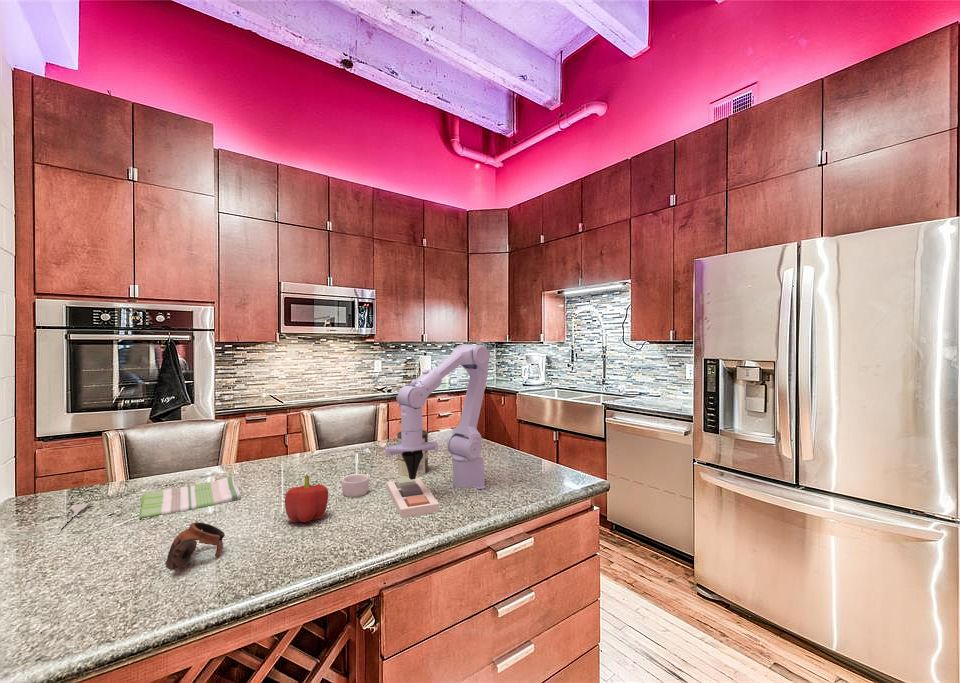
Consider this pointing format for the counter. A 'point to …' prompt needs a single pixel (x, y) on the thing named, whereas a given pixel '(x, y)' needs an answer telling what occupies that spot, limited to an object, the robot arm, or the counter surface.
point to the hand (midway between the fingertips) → (412, 478)
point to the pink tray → (401, 501)
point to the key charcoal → (410, 490)
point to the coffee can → (423, 464)
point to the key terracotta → (416, 500)
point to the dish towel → (189, 497)
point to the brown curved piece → (193, 543)
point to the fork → (79, 508)
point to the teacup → (355, 485)
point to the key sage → (404, 481)
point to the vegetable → (306, 502)
